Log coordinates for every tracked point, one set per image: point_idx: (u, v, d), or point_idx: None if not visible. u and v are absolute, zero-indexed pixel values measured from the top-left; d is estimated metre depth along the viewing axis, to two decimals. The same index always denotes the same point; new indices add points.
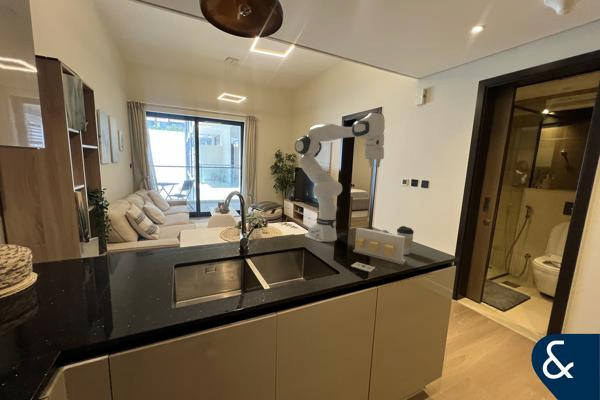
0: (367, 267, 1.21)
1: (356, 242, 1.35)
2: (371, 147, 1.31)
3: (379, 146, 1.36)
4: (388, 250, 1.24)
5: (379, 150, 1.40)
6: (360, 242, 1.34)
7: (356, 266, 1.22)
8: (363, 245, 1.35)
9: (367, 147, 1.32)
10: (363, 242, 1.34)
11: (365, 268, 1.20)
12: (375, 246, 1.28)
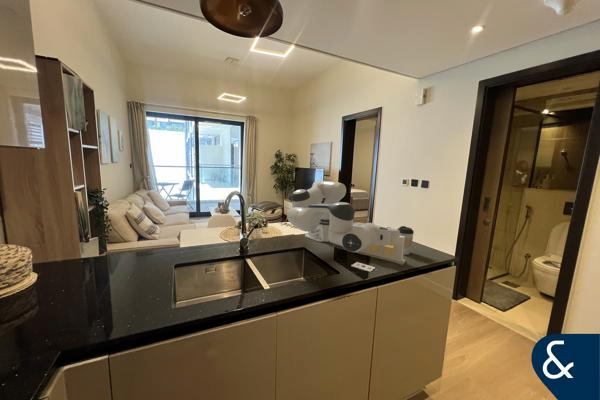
0: (367, 267, 1.21)
1: None
2: (394, 233, 0.99)
3: None
4: (388, 250, 1.24)
5: None
6: None
7: (356, 266, 1.22)
8: None
9: (393, 238, 0.99)
10: None
11: (365, 268, 1.20)
12: (375, 246, 1.28)
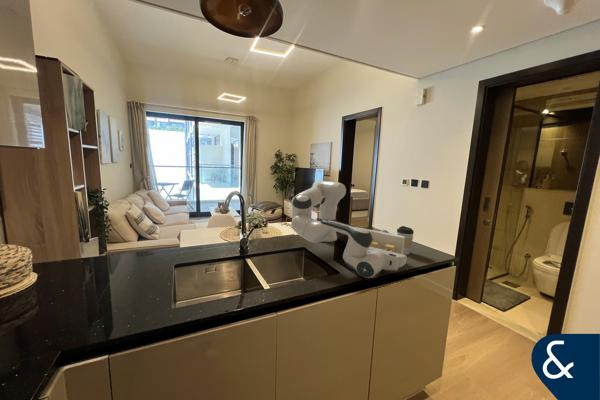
0: None
1: None
2: (401, 259, 1.11)
3: None
4: (389, 249, 1.25)
5: None
6: None
7: None
8: None
9: (401, 264, 1.11)
10: None
11: None
12: (375, 246, 1.28)
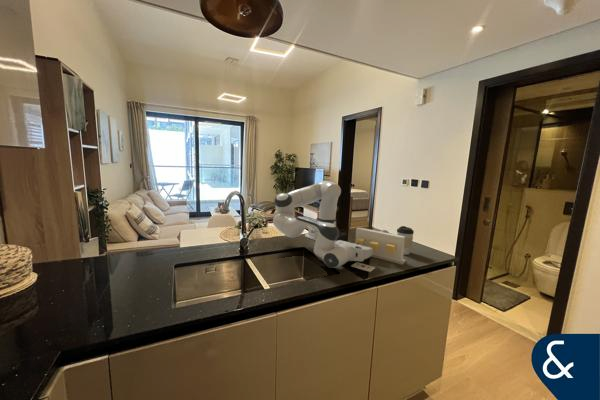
0: (367, 267, 1.21)
1: (356, 242, 1.35)
2: (367, 251, 1.20)
3: None
4: (390, 249, 1.26)
5: None
6: (360, 242, 1.34)
7: (356, 266, 1.22)
8: (363, 245, 1.35)
9: (366, 256, 1.20)
10: (363, 242, 1.34)
11: (365, 268, 1.20)
12: (375, 246, 1.28)
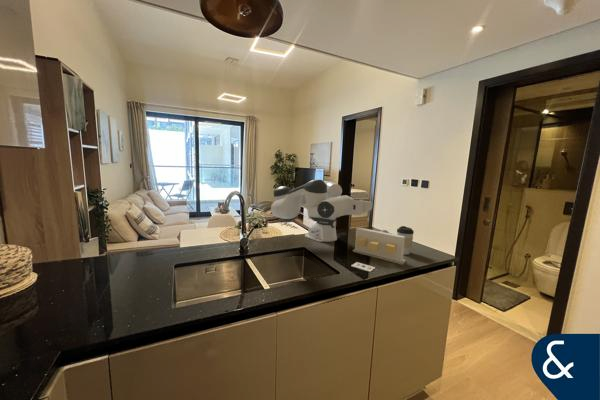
0: (367, 267, 1.21)
1: (358, 241, 1.37)
2: (366, 203, 1.08)
3: None
4: (390, 249, 1.26)
5: None
6: (362, 241, 1.35)
7: (356, 266, 1.22)
8: (365, 244, 1.36)
9: (365, 208, 1.09)
10: (365, 241, 1.36)
11: (365, 268, 1.20)
12: (375, 246, 1.28)
